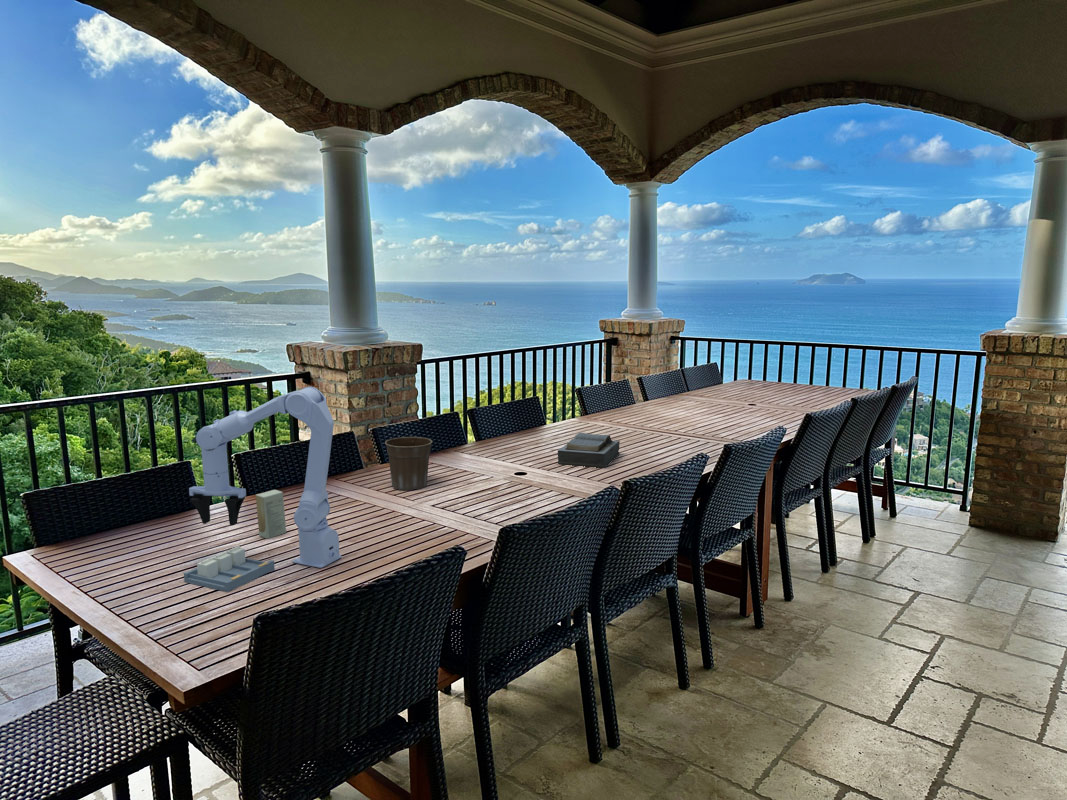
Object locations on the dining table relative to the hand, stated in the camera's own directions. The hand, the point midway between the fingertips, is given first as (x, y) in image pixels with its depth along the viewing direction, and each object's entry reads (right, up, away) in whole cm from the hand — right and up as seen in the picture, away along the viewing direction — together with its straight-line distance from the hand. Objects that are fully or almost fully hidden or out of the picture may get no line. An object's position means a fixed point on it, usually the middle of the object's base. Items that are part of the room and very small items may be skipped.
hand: (219, 523), depth 178 cm
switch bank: (+6, -11, -9) cm, 16 cm away
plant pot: (+37, +1, +68) cm, 77 cm away
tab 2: (+4, -10, -8) cm, 13 cm away
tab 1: (+3, -10, -12) cm, 16 cm away
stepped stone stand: (+103, +7, +104) cm, 147 cm away
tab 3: (+6, -9, -4) cm, 12 cm away
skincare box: (+6, -7, +19) cm, 21 cm away
